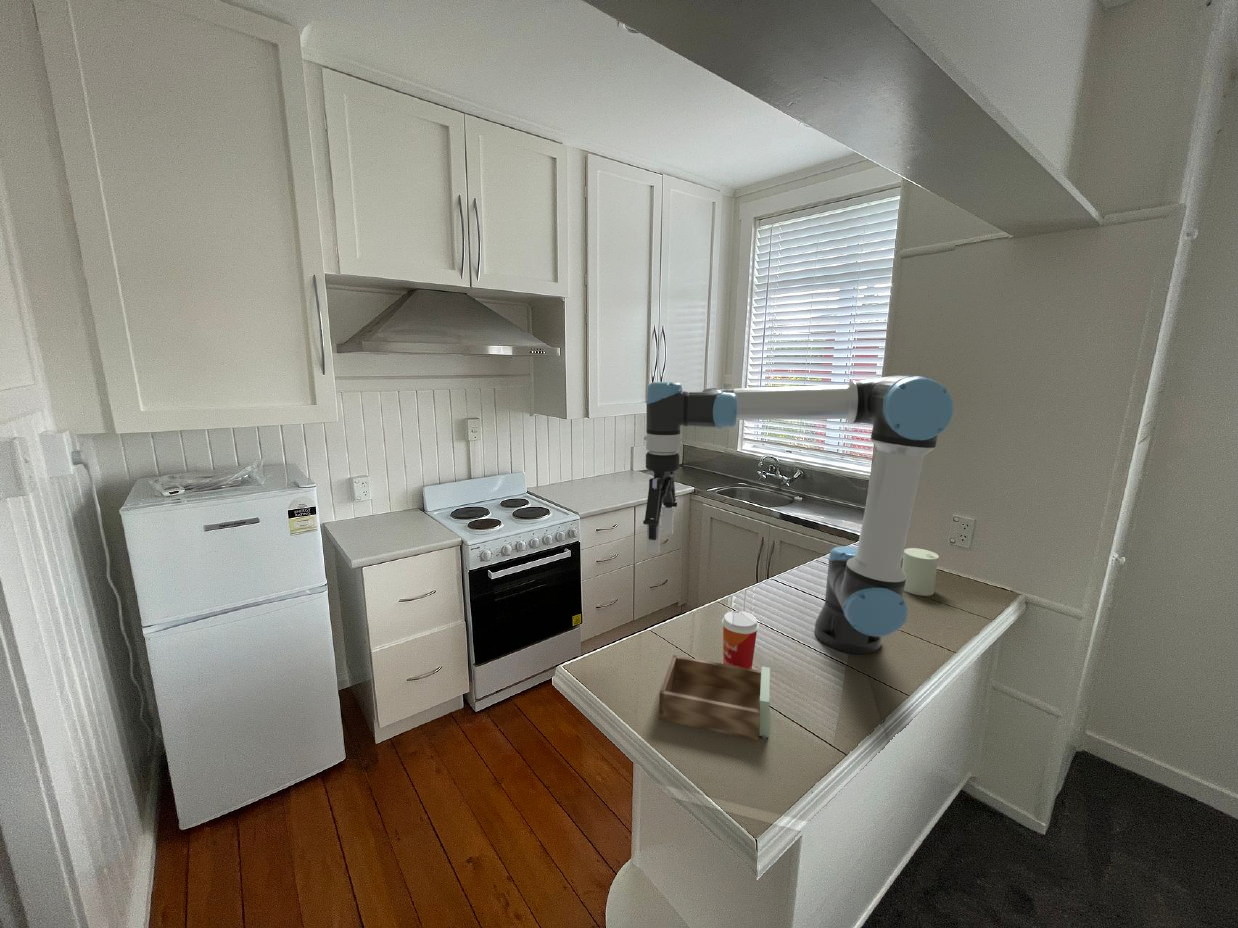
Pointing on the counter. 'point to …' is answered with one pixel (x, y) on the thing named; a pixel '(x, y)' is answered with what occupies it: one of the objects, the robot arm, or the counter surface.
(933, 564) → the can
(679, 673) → the crate
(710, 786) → the counter surface
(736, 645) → the paper cup
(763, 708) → the book
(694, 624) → the counter surface
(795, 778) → the counter surface
